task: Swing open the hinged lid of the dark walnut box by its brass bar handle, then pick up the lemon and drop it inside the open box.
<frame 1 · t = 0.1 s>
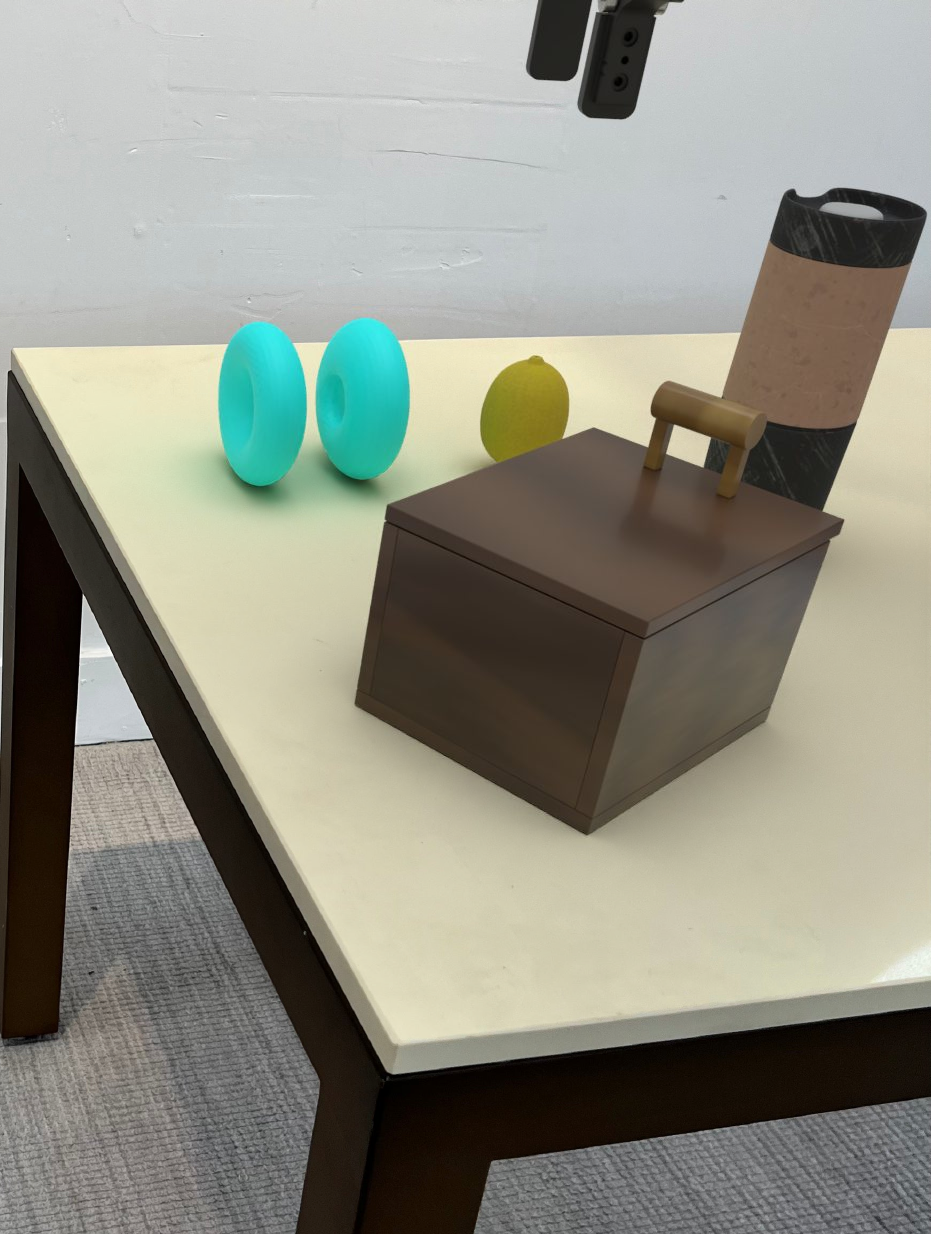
hand: (575, 97, 63), 27 cm above the table, tool pointing down, fingers open, 8 cm apart
lemon: (511, 477, 99), on the table
chest: (561, 712, 74), on the table
donuts: (301, 479, 97), on the table
travel mug: (745, 541, 92), on the table
lid: (626, 476, 67), point 12 cm above the table, hinge at 0.0°
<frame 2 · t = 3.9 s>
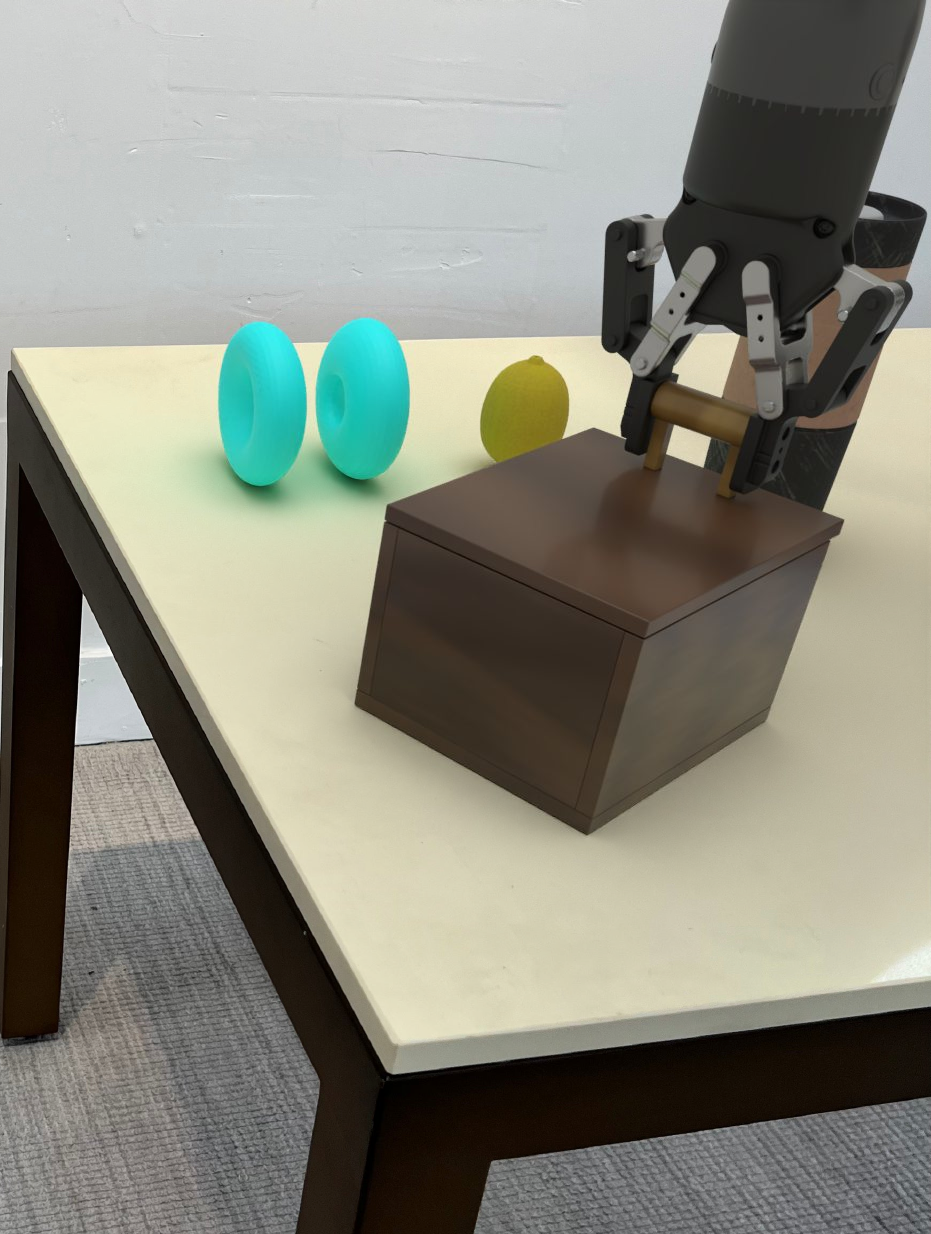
hand: (691, 467, 71), 11 cm above the table, tool pointing down, fingers closed on lid, 5 cm apart
lid: (626, 477, 67), point 12 cm above the table, hinge at 0.0°, touching gripper
everything else where it was.
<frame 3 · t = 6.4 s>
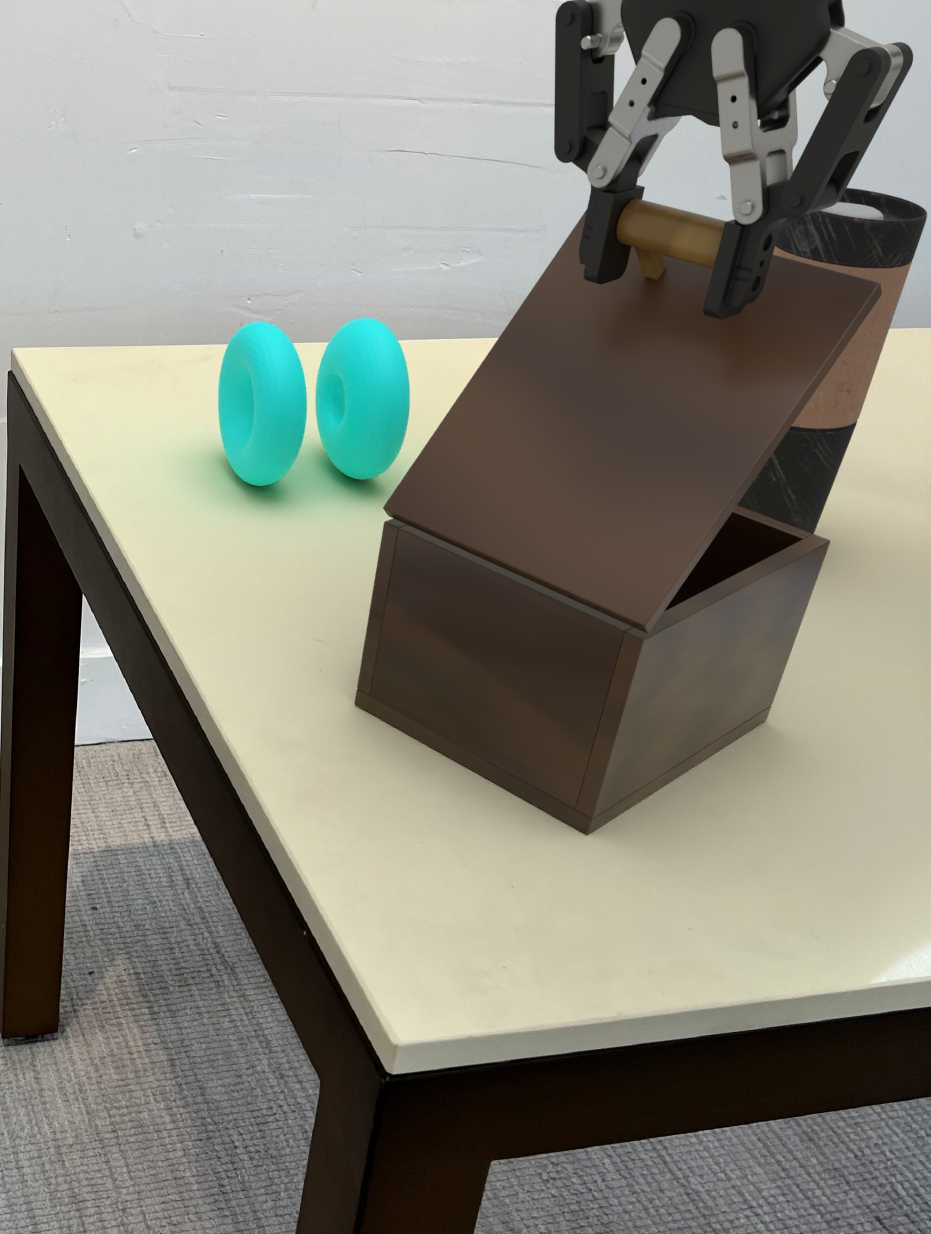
hand: (661, 294, 61), 21 cm above the table, tool pointing down, fingers closed on lid, 5 cm apart
lid: (605, 380, 62), point 18 cm above the table, hinge at 45.0°, touching gripper
everything else where it was.
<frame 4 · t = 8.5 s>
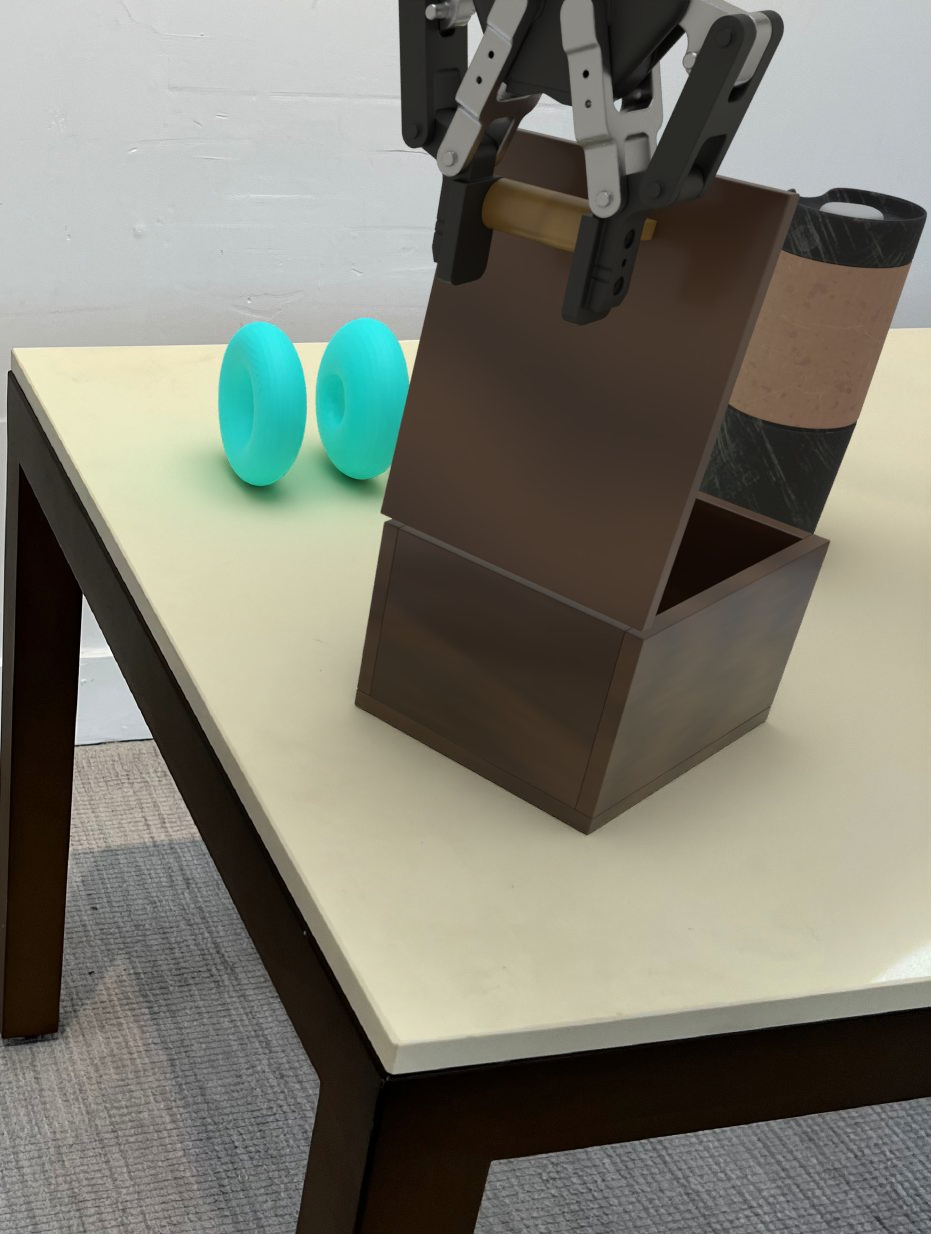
hand: (520, 297, 55), 22 cm above the table, tool pointing down, fingers closed on lid, 5 cm apart
lid: (531, 380, 58), point 19 cm above the table, hinge at 84.0°, touching gripper
everything else where it was.
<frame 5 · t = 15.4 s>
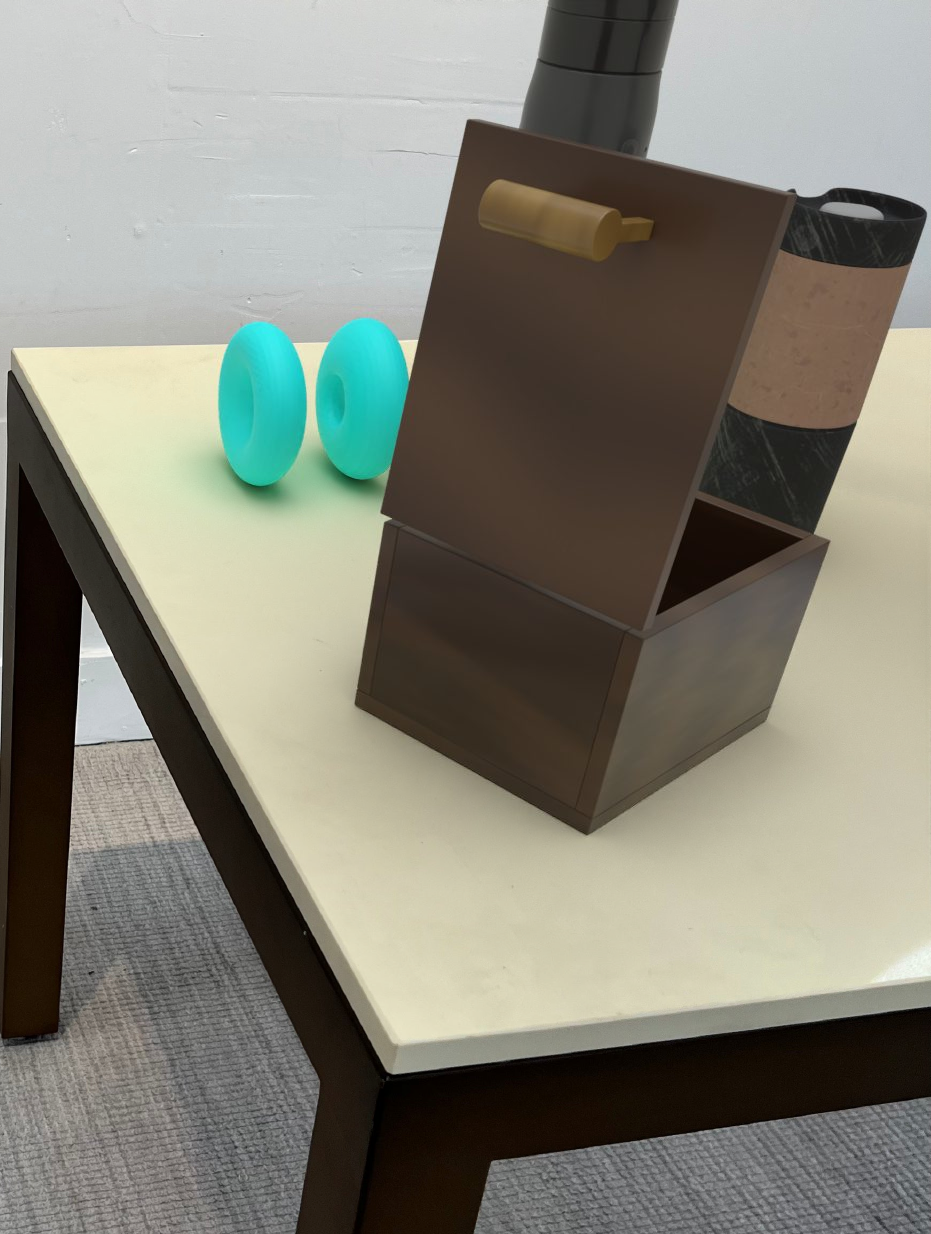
hand: (522, 423, 97), 4 cm above the table, tool pointing down, fingers closed on lemon, 5 cm apart
lemon: (511, 477, 99), on the table, touching gripper
lid: (529, 381, 58), point 19 cm above the table, hinge at 84.7°
everything else where it was.
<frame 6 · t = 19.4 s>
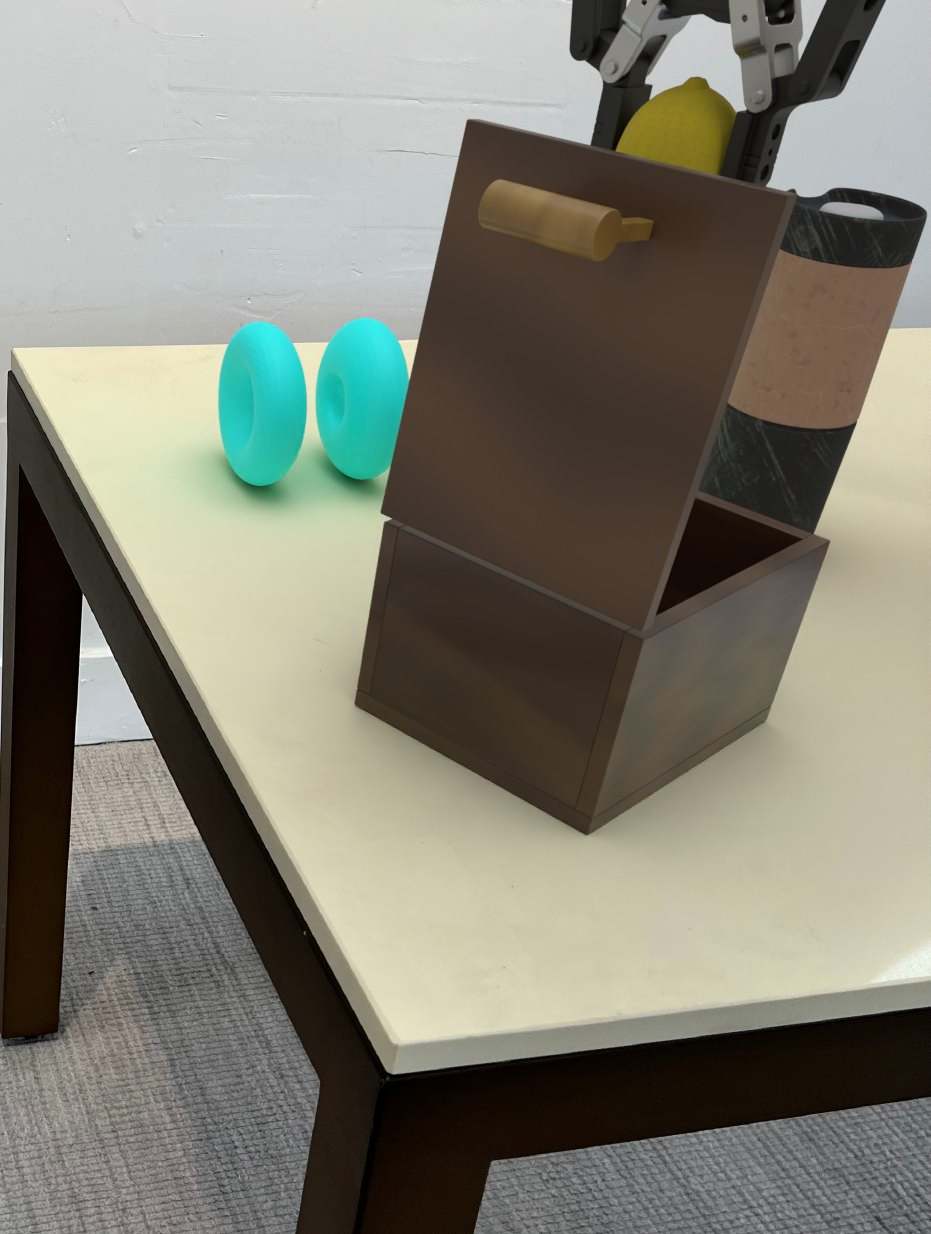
hand: (671, 185, 66), 23 cm above the table, tool pointing down, fingers closed on lemon, 5 cm apart
lemon: (650, 271, 68), point 20 cm above the table, touching gripper
everything else where it was.
when the fingers open (10 cm above the table, at t = 23.7 s): lemon drops 5 cm, resting on chest.
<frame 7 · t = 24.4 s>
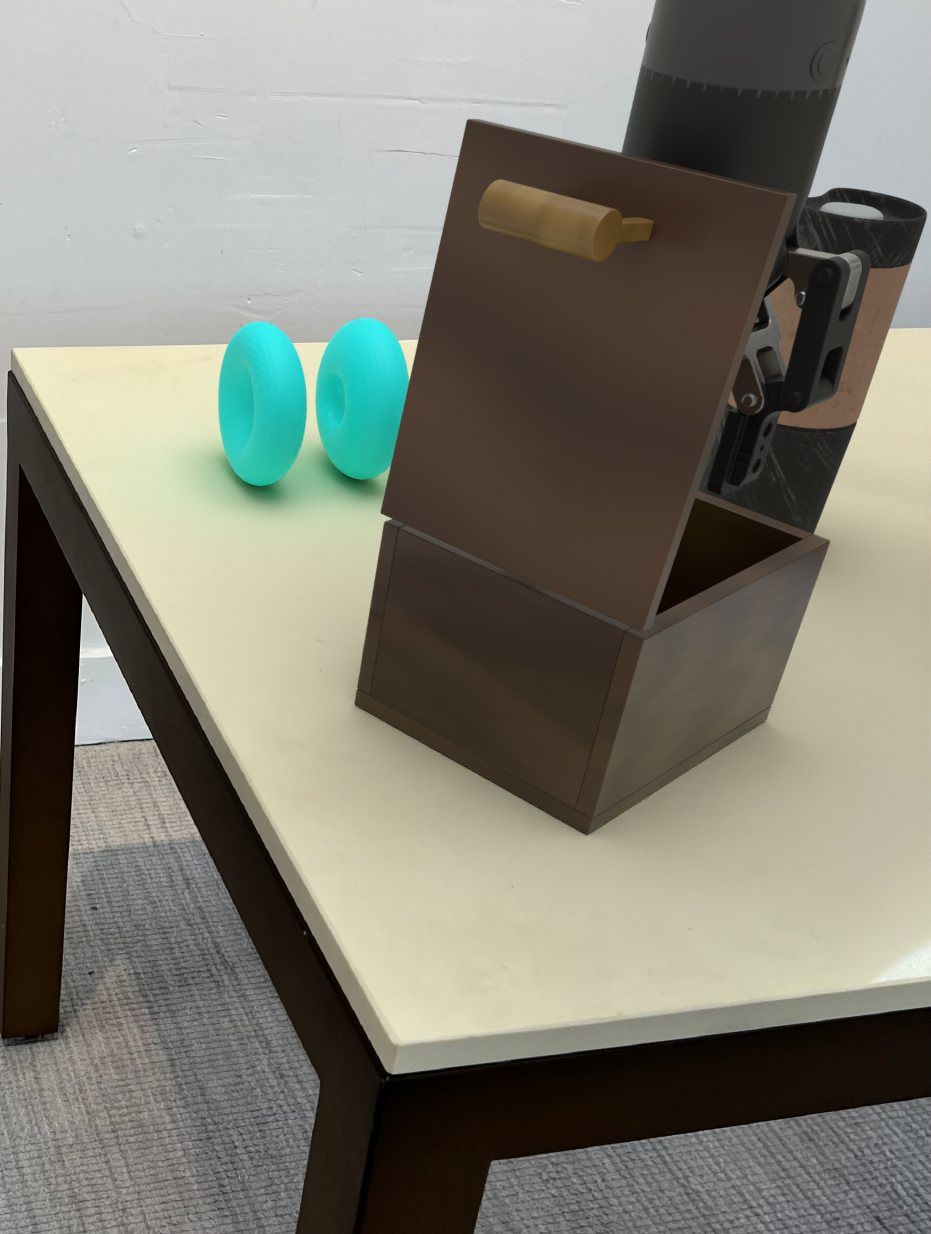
hand: (639, 458, 67), 13 cm above the table, tool pointing down, fingers open, 8 cm apart
lemon: (577, 677, 74), point 2 cm above the table, touching chest
everything else where it was.
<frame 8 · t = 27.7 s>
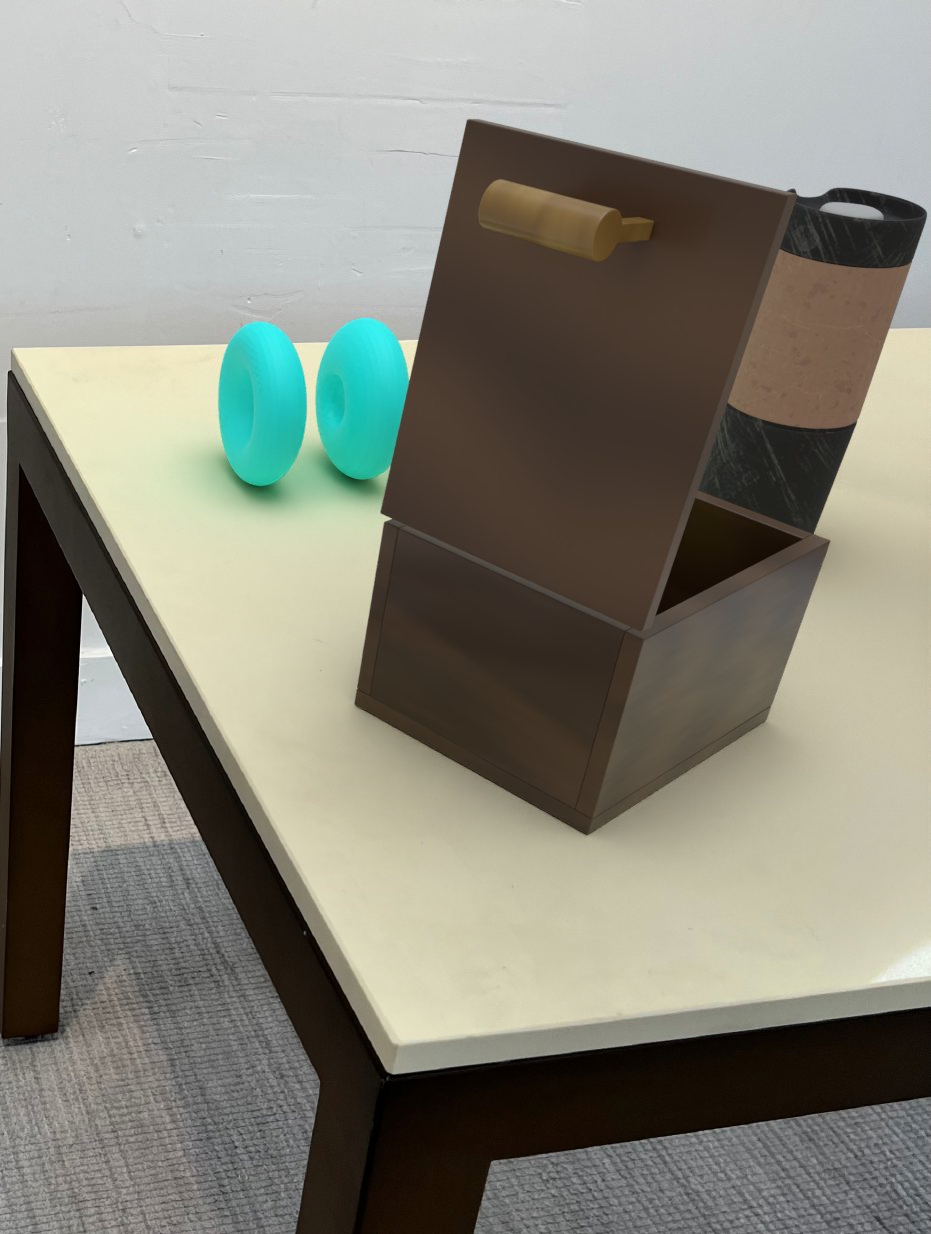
nothing on the table moved.
at the end: lid at +85° (first picture: +0°); lemon inside the target area in the chest (1.0 cm from its centre), point 1.6 cm above the chest's base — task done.
